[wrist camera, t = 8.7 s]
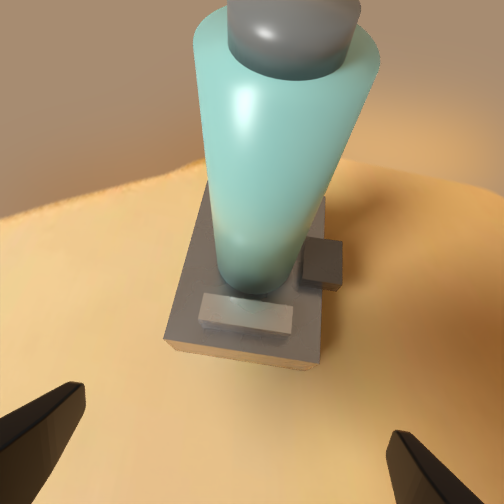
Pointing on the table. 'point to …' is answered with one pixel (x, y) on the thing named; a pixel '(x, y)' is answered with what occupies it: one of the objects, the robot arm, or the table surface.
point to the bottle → (276, 123)
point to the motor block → (254, 303)
